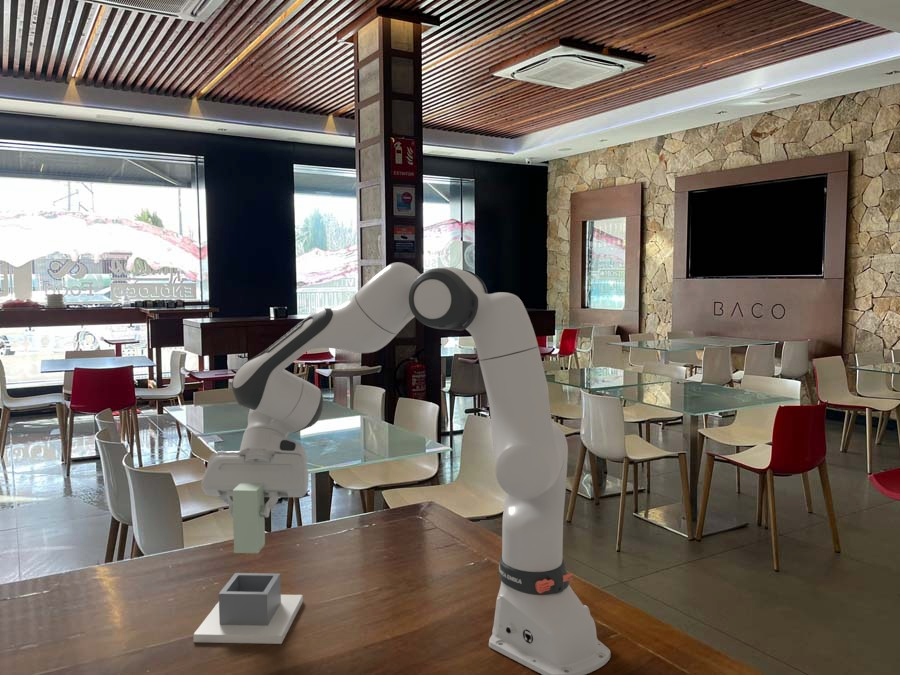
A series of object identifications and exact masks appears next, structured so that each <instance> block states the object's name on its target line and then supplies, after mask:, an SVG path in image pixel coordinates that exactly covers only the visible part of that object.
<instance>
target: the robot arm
mask: <svg viewBox="0 0 900 675" xmlns="http://www.w3.org/2000/svg"><path fill="white" fill-rule="evenodd" d="M414 318H416V320H418V321H419V322H420V323H421V324H423V325H424V326H427V327H430V328H433V329H438V330H451V331H452V330H453V331H464V330H466V331H467V332H468V333H469V334H470V335H471V338H472V339H473V342H474V346H475V350H476V353H477V357H478V363H479V367H480V371H481V374H482V378H483V382H484V387H485V391H486V396H487V401H488V407H489V414H490V426H491V436H492V438H491V439H492V445H493V452H494V458H495V460H494V461H495V463H494V464H495V466H494V468H495V469H494V470H495V478H496V481H497V483H498V484H499V487H501V489H502V490H503V491H504V492H505V501H504V506H503V514H502V527H501V528H502V530H501V534H502V536H501V538H502V542H501V545H502V548H501V552H502V553H501V554H502V555H500V559H499V564H498V571H499V573H498V574H499V576H498V577H499V579H500V586H499V591H498V593H497V597H496V602H495V611H494V619H493V620H494V621H493V626H492V629H491V630H492V631H491V632H492V634H491V636H490V637H489V641H488V647H489V648H490V649H492V650H494V651H496V652H498V653H500V654H501V655H504V656H506V657H507V658H509V659H512V660H513V661H515V662H517V663H519V664H521V665H523V666H525V667H526V668H529V669H530V670H533V671H534V672H537V673H539V674H541V675H587V674H590V673H592V672H594V671H596V670H599V669H600V668H602V667H603V666H605V665H606V664H607V663H608V661H610V659H611V657H612V656H611V653H612V652H611V650H610V649H609V647H607V646H606V645H605V644H604V643H603V642H601V641H600V640H599V639H598V636H597V628H596V623H595V620H594V618H593V616H592V615H591V611H590V608H589V606H587V605H585V604H583V603H582V601H581V600H580V598H579V597H578V596H577V594H576V593H575V591H573V589H572V587H571V586H570V581H571V580H573V579H574V578H573V577H572V576H573V575H574V573H573V572H570V573H568V571H567V566H566V563H565V560H564V558H563V553H564V552H563V551H564V550H563V548H564V547H563V544H564V542H563V541H564V540H563V539H564V515H565V514H564V512H565V502H566V491H567V490H566V489H567V475H568V474H567V473H568V457H569V456H568V455H569V447H568V441H567V437H566V434H565V433H564V431H563V430H562V429H561V428H560V427H559V426H558V425H557V424H556V423H554V422H553V421H552V413H551V404H550V396H549V394H550V392H549V390H550V389H549V386H548V381H547V377H546V372H545V368H544V365H543V364H544V363H543V361H542V355H541V353H540V352H541V351H540V349H539V344H538V340H537V337H536V333H535V330H534V327H533V324H532V322H531V319H530V316H529V314H528V311H527V309H526V306H525V305H524V303H523V301H522V300H521V299H520V297H519V296H518V295H516V294H514V293H510V292H503V291H502V292H501V291H500V292H499V291H498V292H493V293H488V289H487V287H486V284H485V283H484V280H482V278H480V276H478V275H477V274H476V273H474V272H473V271H471V270H467V269H461V268H458V267H454V266H452V267H450V266H449V267H448V266H447V267H435V268H432V269H428V270H426V271H424V272H423V273H420V272H419V270H417V269H416V268H414V267H413V266H411V265H410V264H407V263H405V262H392V263H390V264H388V265H386V266H385V267H384V268H383V269H381V270H380V271H378V273H376V274H375V275H374V276H373V277H371V278H370V279H369V280H368V281H367V282H366V283H365V284H364V285H362V287H360V289H359V290H358V291H357V292H356V293H355V294H354V295H353V296H352V297H351V298H350V299H348V300H347V301H345V302H343V303H340V304H338V305H336V306H333V307H330V308H326V307H325V308H319V309H318V310H316V311H313V312H312V313H311V314H309V315H308V316H307V317H305V318H304V319H303V320H302V321H300V322H298V323H297V324H296V325H295V326H294V327H292V328H291V329H290V330H289V331H287V332H286V333H285V334H284V335H283V336H281V337H280V338H279V339H278V340H276V341H275V342H274V343H273V344H271V345H269V347H267V348H265V349H264V350H263V351H262V352H260V353H258V354H256V355H255V356H253V357H251V358H250V359H248V360H246V361H245V362H244V363H243V364H241V365H240V367H239V368H238V369H237V371H236V373H235V374H234V376H233V379H232V381H231V389H232V391H233V396H234V398H235V400H236V402H237V404H238V405H240V406H242V407H244V408H247V409H249V411H248V414H247V426H246V428H245V430H244V432H243V435H242V439H241V443H240V447H239V450H235V451H234V450H231V451H224V450H221V451H217V452H216V453H213V454H212V455H210V456H209V458H208V461H207V466H206V468H205V472H204V473H203V474H204V475H203V476H202V480H201V483H200V488H201V489H202V491H203V492H204V494H205V495H206V496H207V497H225V499H226V501H227V504H228V510H227V514H228V515H227V516H228V517H229V518H233V489H235V488H236V487H237V486H238V485H239V484H240V483H264V484H263V491H264V498H268V500H267V501H266V503H264V505H261V506H260V511H259V515H260V517H264V518H269V517H270V512H271V510H272V509H273V508H274V507H275V505H276V504H277V503H278V502H279V498H303V497H304V496H306V494H307V493H308V491H309V490H308V488H309V471H308V468H307V464H308V463H307V462H308V459H307V454H306V451H305V449H304V447H303V445H302V444H301V443H300V442H297V441H294V440H291V439H288V436H289V435H290V433H292V434H293V433H294V434H295V433H298V432H300V431H303V430H306V429H307V428H310V427H313V426H314V425H316V423H317V422H318V421H319V419H320V418H321V414H322V412H323V407H324V396H323V391H322V390H321V388H319V387H318V386H317V385H315V384H313V383H311V382H310V381H308V380H306V379H304V378H302V377H299V376H298V375H296V374H294V373H292V372H290V371H288V370H286V368H288V367H289V366H291V365H292V364H293V363H294V362H296V361H297V360H298V359H299V358H300V357H301V356H303V355H304V354H306V353H307V352H308V351H311V350H315V349H320V348H321V349H324V348H325V349H334V350H335V349H336V350H341V351H347V352H351V353H354V354H370V353H374V352H378V351H380V350H382V349H383V348H384V347H386V346H387V345H388V344H389V343H390V342H391V341H392V340H393V339H394V338H395V337H396V336H397V335H398V334H399V332H401V330H402V329H403V328H405V326H406V325H407V324H409V322H410V321H412V319H414Z"/></svg>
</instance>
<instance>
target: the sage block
mask: <svg viewBox="0 0 900 675" xmlns="http://www.w3.org/2000/svg"><path fill="white" fill-rule="evenodd" d="M263 484H264V483H240V484H239V485H238V486H237V487H236V488H235V489H233V517H232V519H233V520H232V524H233V526H232V527H233V553H234V554H259V552H260V551H261V550H262V548H263V547H264V546H265V545H266V531H265V530H266V529H265V528H266V526H265V523H266V522H265V518H266V517H260V515H259V511H260V506H261V505H265V497H264V491H263Z"/></svg>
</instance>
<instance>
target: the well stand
mask: <svg viewBox="0 0 900 675" xmlns="http://www.w3.org/2000/svg"><path fill="white" fill-rule="evenodd" d="M281 586H282V585H281V573H276V572H275V573H274V572H273V573H271V572H270V573H266V572H264V573H263V572H262V573H259V572H235V573H233V575H232V576H231V577H230V579H229V580H228V581H227V583H225V585H224V586H223V588H221V590H220V591H219V593H218V602H216V604H215V606H214V607H213V608H212V609H211V611H210V612H209V613H208V615H207V616H206V617H205V619H203V621H202V623H201V624H200V625H199V626H198V628H197V629H196V630H195V631H194V633H193V637H192V638H193V643H213V644H214V643H215V644H216V643H217V644H219V643H222V644H226V643H227V644H267V645H268V644H275V645H276V644H279V645H281V644H282V643H283V641H284V639H285V638H286V636H287V633H288V632H289V630H290V628H291V626H292V624H293V622H294V620H295V618H296V616H297V614H298V612H299V611H300V609H301V606H302V605H303V602H304V601H303V600H304V598H303V597H304V596H303V594H281V593H282V592H281V590H282V588H281Z"/></svg>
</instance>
